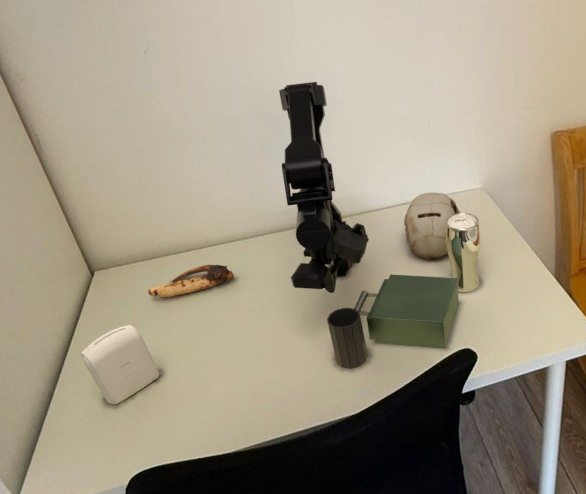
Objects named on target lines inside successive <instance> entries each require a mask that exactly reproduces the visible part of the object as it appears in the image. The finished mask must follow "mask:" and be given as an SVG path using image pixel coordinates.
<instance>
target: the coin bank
mask: <svg viewBox="0 0 586 494" xmlns="http://www.w3.org/2000/svg"><path fill="white" fill-rule="evenodd" d="M459 213H461V211H460V210H459V208H458V206H457V203H456V202H455V200H454V199H453V198H452V197H450V196H448V195H447V194H445V193H442V192H425V193H420V194H418V195H417V196H416V197H415V198H413V199H412V201H411V202H410V205H409V206H408V208H407V211H406V212H405V216H404V219H403V224H404V231H405V238H406V242H407V244H408V246H409V248H410V249H411V250H412V252H413V253H414V254H416V255H417V256H418V257H422V258H425V259H427V260H430V259H440V258H442V257H444V256H445V255H448V253H447V248H446V240H445V227H446V224H445V221H446V219H447V218H448V217H450V216H452V215H454V214H459Z"/></svg>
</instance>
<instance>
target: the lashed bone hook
mask: <svg viewBox="0 0 586 494" xmlns="http://www.w3.org/2000/svg"><path fill="white" fill-rule="evenodd" d="M204 272H205V273H204ZM199 273H204V274H202V275H200V276H194V277H191V278H187V277H189V276H192V275H194V274H195V275H196V274H199ZM234 277H235V274H234V273H233V271H232V270H229V269H228V265H221V264H204V265H199V266H196V267H194V268H191V269H188V270H186V271H184V272H182V273H180V274H178V275H177V276H176V277H174V278H173V279H172V280H171V282H170V283H164V284H160V285H156V286H152V287H149V288H148V290H147V291H148V295H149V296H151V297H157V296H158V297H160V298H169V297H174V296H179V295H184V294H189V293H193V292H197V291H200V290H205V289H209V288H212V287H215V286H219V285H222V284H223V283H226V282H227V281H231V280H233V279H234ZM185 278H186V279H185Z"/></svg>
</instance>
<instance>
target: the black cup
mask: <svg viewBox="0 0 586 494" xmlns="http://www.w3.org/2000/svg"><path fill="white" fill-rule="evenodd" d="M361 316H362V315H360V314H359V312H358V311H357V310H355V309H354V308H353V307H341V308H337V309H335V310H333V311H331V312H330V313H329V315H328V316H327V317H326V322H327V327H328V330H329V336H330V339H331V344H332V348H333V354H334V358H335V361H336V364H337V365H338V367H341V368H343V369H350V370H351V369H355V368H358V367H361V366H362V365H364V364H365V363H366V362H367V359H368V357H369V355H368V349H367V344H366V338H365V333H364V327H363V322H362V317H361Z"/></svg>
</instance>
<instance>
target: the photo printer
mask: <svg viewBox="0 0 586 494" xmlns="http://www.w3.org/2000/svg"><path fill="white" fill-rule="evenodd" d="M80 355H81V358H82V360H83V364H84V366H85V367H86V369H87V371H88V372H89V374H90V375H91V377H92V379H93V381H94V383H95V384H96V386H97V387H98V389H99V391H100V392H101V394H102V396H103V397H104V399H105V401H106V402H107V403H108V404H109V405H117V404H119V403H121V402H123V401H125V400H126V399H128V398H130V397H131V396H133V395H135V394H136V393H137V392H139V391H141V390H142V389H144V388H145V387H146V386H148V385H150V384H151V383H153V382H154V381H156V379H158V378H159V377H160V376H161V375H160V371H159V369H158V367H157V364H156V362H155V361H154V359H153V357H152V355H151V353H150V351H149V349H148V347H147V344H146V343H145V341H144V338H143V337H142V335H141V333H140V332H139V331H138V330H137V328H136V327H134V326H132V325H131V324H128V325H127V324H126V325H122V326H120V327H116V328H113V329H111V330H110V331H107V332H106V333H104V334H102V335H100V336H99V337H97V338H96V339H94V340H93V341H92V342H90V344H88V345H87V346H86V347H85V348H84V349H83V350H82V352H81V353H80Z"/></svg>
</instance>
